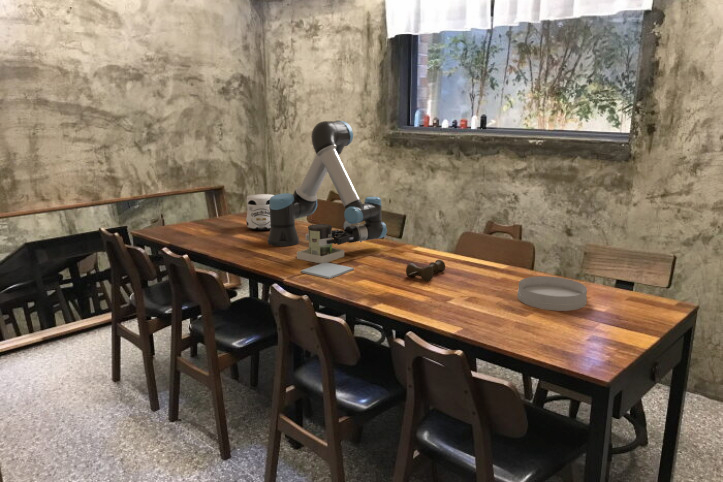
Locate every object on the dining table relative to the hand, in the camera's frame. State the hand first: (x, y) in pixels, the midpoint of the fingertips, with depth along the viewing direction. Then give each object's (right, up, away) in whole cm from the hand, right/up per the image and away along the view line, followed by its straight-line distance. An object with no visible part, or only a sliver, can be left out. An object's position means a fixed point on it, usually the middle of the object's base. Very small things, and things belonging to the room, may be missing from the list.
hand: (312, 240), depth 235 cm
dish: (+85, -20, -51) cm, 101 cm away
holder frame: (+3, -8, +4) cm, 9 cm away
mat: (+8, -12, -16) cm, 22 cm away
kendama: (+46, -14, -24) cm, 54 cm away
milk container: (-33, +6, +64) cm, 72 cm away
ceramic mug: (+18, +3, +50) cm, 53 cm away
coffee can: (+3, -8, +4) cm, 9 cm away
